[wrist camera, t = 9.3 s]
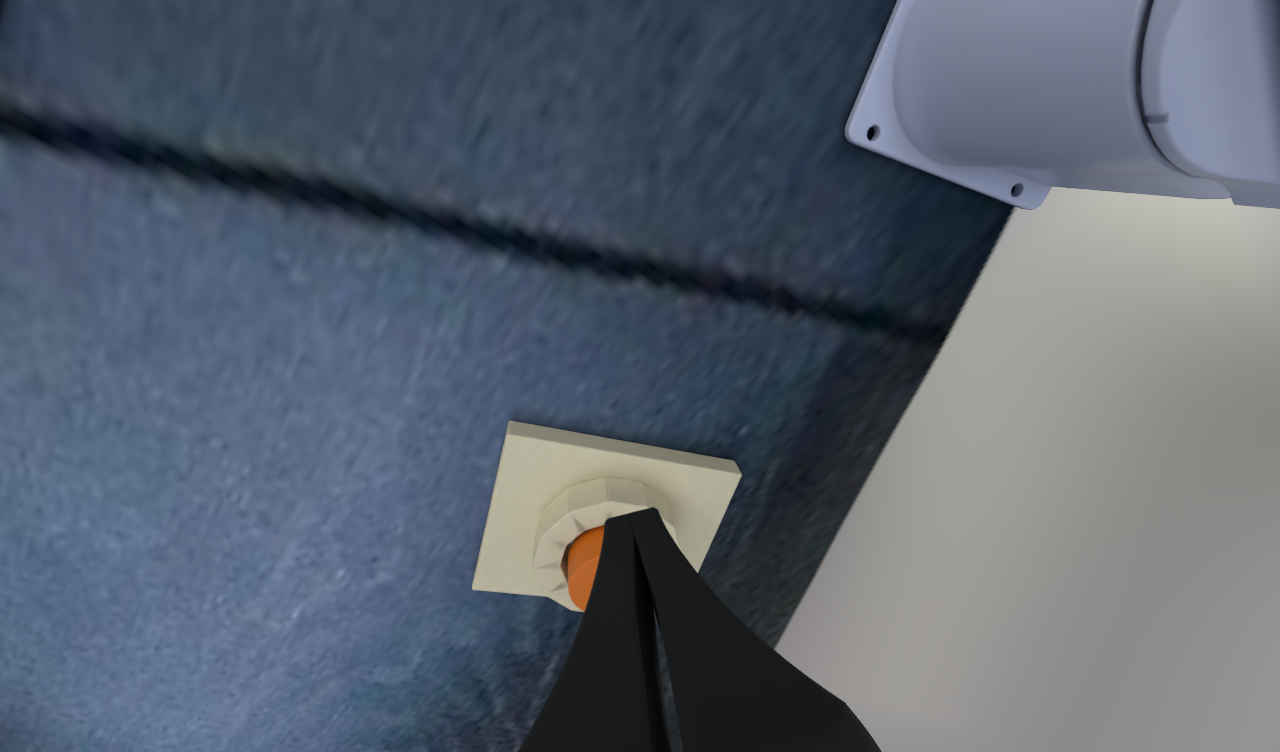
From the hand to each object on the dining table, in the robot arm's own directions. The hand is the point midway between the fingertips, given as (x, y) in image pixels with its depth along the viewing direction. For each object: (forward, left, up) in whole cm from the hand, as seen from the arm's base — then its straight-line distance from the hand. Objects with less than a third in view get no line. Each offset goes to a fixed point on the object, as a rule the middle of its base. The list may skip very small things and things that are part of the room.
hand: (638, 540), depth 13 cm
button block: (-2, +7, -10) cm, 12 cm away
